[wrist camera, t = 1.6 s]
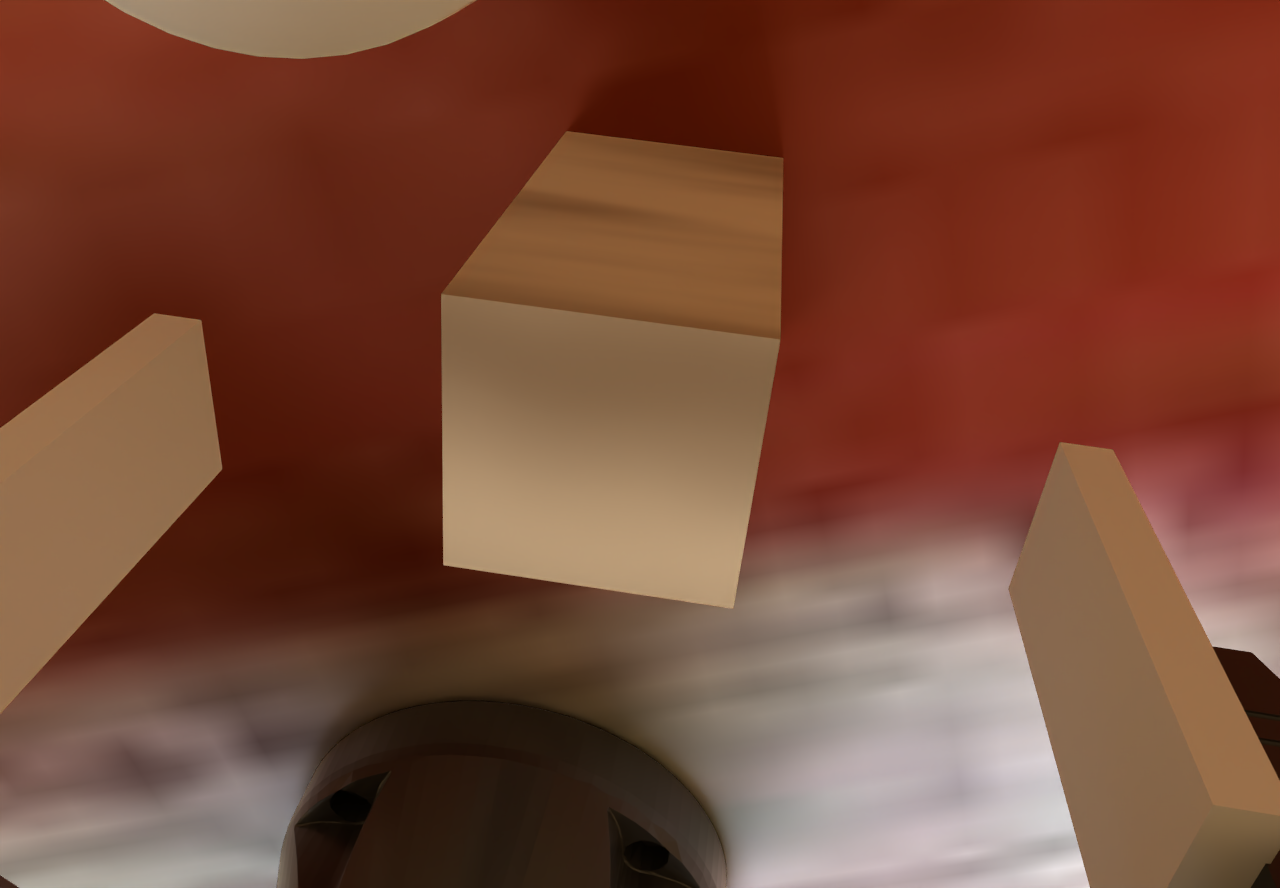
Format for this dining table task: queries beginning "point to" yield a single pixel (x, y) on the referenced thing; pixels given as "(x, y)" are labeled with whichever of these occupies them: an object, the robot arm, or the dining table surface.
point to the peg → (615, 370)
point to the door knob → (292, 23)
